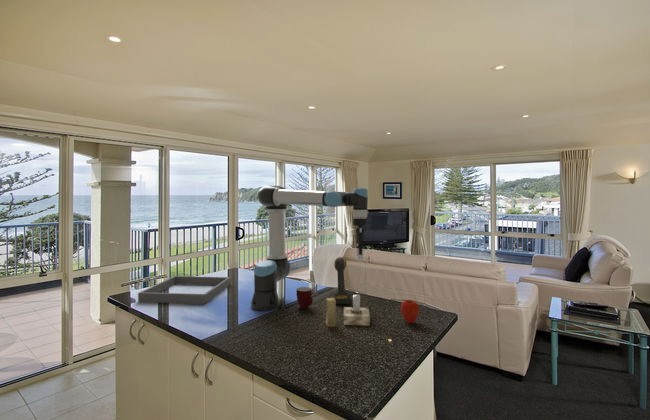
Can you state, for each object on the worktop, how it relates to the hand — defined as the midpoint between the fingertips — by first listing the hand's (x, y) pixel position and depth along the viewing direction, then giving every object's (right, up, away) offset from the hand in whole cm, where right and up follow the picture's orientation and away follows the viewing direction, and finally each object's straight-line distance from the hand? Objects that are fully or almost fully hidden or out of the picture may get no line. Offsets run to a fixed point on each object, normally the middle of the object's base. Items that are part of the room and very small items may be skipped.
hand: (359, 258), depth 168 cm
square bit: (-16, -28, -21) cm, 38 cm away
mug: (-28, -27, +1) cm, 39 cm away
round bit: (-3, -27, -15) cm, 31 cm away
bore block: (-3, -27, -15) cm, 31 cm away
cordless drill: (-8, -26, +15) cm, 31 cm away
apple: (+22, -28, -18) cm, 39 cm away
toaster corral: (-101, -25, +26) cm, 107 cm away
